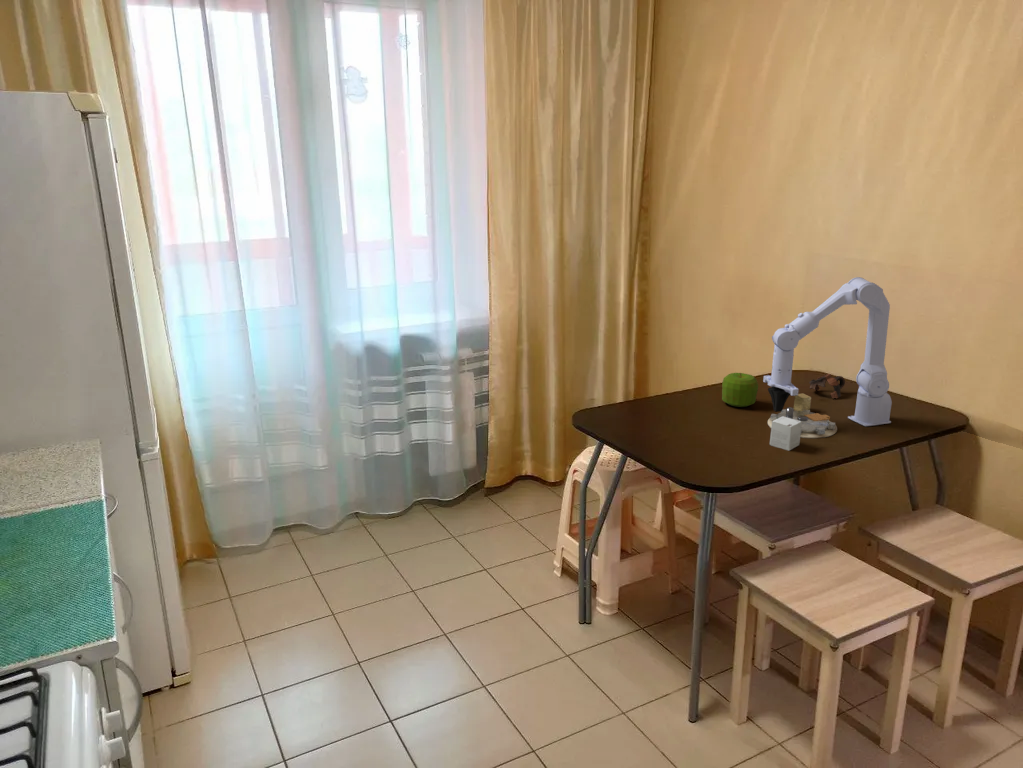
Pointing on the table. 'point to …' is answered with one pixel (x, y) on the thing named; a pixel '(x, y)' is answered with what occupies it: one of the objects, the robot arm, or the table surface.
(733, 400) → the apple
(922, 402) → the table surface
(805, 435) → the base plate
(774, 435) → the skincare box
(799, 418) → the sprocket
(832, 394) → the brown irregular piece
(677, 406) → the table surface
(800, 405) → the wooden block
